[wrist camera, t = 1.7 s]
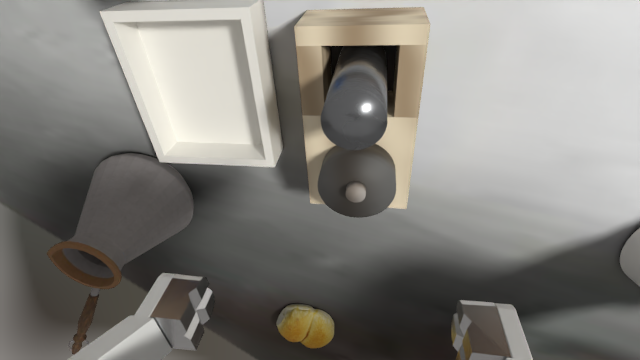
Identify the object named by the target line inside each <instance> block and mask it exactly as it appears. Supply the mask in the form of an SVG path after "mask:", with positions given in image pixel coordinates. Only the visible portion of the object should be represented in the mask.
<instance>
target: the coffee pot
mask: <svg viewBox="0 0 640 360" xmlns="http://www.w3.org/2000/svg"><path fill="white" fill-rule="evenodd" d="M193 210H194V200H193V196H192V192H191V191H190V189H189V187H188V185H187V183H186V182H185V180H184V178H183V177H182V175H181V174H180V173H179V172H178V171H177V170H176V169H175V168H173V167H172V166H171V165H170V164H168V163H165V162H159V159H157V158H154V157H150V156H147V155H143V154H134V153H126V154H119V155H115V156H111V157H109V158H108V159H106V160H104V161H102V162H101V163H100V164H99V165H98V167H97V168H96V169H95V171H94V174H93V178H92V181H91V184H90V187H89V190H88V194H87V197H86V200H85V203H84V207H83V210H82V213H81V216H80V219H79V223H78V226H77V229H76V232H75V236H74V237H72V238H71V239H69V240H68V241H65V242H61V243H58V244H56V245H54V246H53V247H51V249H50V250H49V251H48V252H47V255H48V256H49V258H50V259H51V261H52V262H53V263H54V264H55V266H56V267H57V268H58V269H59V270H60V271H61V272H63V273H64V274H65V275H67V276H68V277H70V278H71V279H73V280H75V281H77V282H79V283H81V284H83V285H86V286H89V287H92V290H91V293H90V294H89V297H88V299H87V301H86V304H85V307H84V309H83V311H82V314H81V316H80V319H79V321H78V331H77V334H75V335H74V337H73V340H72V341H70V342H69V344H70V343H71V342H73V341H75V343H74V344H73V346H72V349H71V348H70V346H69V345H68V348H69V349H70V350H71V351H72V354H74V355H75V354H76V353H77V352H79V350H80V348H81V347H82V342H83V341H84V342H86V343H87V344H88V345H89V342H88V341H86V334H85V333H86V331H87V330H88V328H89V326H90V325H91V323H92V319H93V316H94V312H95V308H96V304H97V300H98V297H99V291H100V289H110V288H114V287H115V286H117V285H118V284H119V283H120V281H121V278H122V276H121V270H122V267H123V265H124V264H126V263H128V262H130V261H131V260H133V259H135V258H136V257H138V256H140V255H141V254H143V253H145V252H146V251H148V250H150V249H151V248H153V247H155V246H156V245H158V244H160V243H161V242H163V241H165V240H166V239H168V238H170V237H172V236H173V235H175V234H177V233H178V232H180V231H181V230H183V229H184V228H185V227H186V226H188V225H189V223H190V221H191V219H192V217H193Z"/></svg>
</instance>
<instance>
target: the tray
mask: <svg viewBox="0 0 640 360" xmlns="http://www.w3.org/2000/svg"><path fill="white" fill-rule="evenodd" d="M99 12H100V14H101V17H102V19H103V22H104V24H105V27H106V29H107V32H108V34H109V37H110V39H111V42H112V44H113V47H114V49H115V52H116V54H117V57H118V59H119V62H120V64H121V67H122V69H123V72H124V74H125V77H126V79H127V82H128V84H129V87H130V89H131V92H132V94H133V97H134V99H135V102H136V104H137V107H138V109H139V112H140V114H141V117H142V119H143V122H144V124H145V127H146V129H147V132H148V134H149V137H150V139H151V142H152V144H153V147H154V149H155V152H156V154H157V157H158V159H159V162H165V163H188V164H211V165H235V166H258V167H275V166H276V164H277V161H278V159H279V157H280V154H281V152H282V150H283V142H282V135H281V127H280V120H279V113H278V105H277V98H276V91H275V83H274V76H273V69H272V61H271V54H270V47H269V40H268V32H267V25H266V18H265V10H264V3H263V0H174V1H143V2H125V3H122V4H119V5H116V6H113V7H110V8H108V9H105V10H102V11H99Z"/></svg>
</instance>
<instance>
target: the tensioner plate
mask: <svg viewBox="0 0 640 360" xmlns="http://www.w3.org/2000/svg"><path fill="white" fill-rule="evenodd" d="M294 30H295V41H296V52H297V63H298V74H299V85H300V95H301V106H302V117H303V128H304V139H305V150H306V160H307V171H308V182H309V193H310V203H314V204H326V205H327V206H328V207H329V208H331V209H332V210H334V211H336V212H337V213H340V214H342V215H345V216H350V217H368V216H372V215H375V214H378V213H380V212H382V211H383V210H385V209H386V208H401V209H407V201H408V193H409V185H410V178H411V170H412V162H413V154H414V147H415V139H416V131H417V123H418V115H419V108H420V100H421V92H422V84H423V77H424V69H425V61H426V53H427V45H428V38H429V30H430V22H429V20H428V17H427V15H426V12H425V9H424V7H414V8H375V9H336V10H307V11H306V12H305V13H304V15H303V16H302V17H301V19H300V20H299V21H298V22H297V24H296V25H295V26H294ZM357 45H397V46H396V59H395V72H394V85H393V91H387V128H386V131H385V133H384V135H383V136H382V138H381V139H380V140H379V141H378V142H377V143H375V144H374V145H372V146H370V147H368V148H365V149H361V150H348V149H344V148H341V147H339V146H337V145H335V144H334V143H332V142H331V141H330V140H329V139H328V138H327V137H326V135H325V134H324V132H323V130H322V126H321V113H322V109H323V106H324V103H325V100H326V97H327V94H328V91H329V87H330V84H331V81H332V70H331V46H357Z"/></svg>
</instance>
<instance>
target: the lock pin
mask: <svg viewBox="0 0 640 360" xmlns="http://www.w3.org/2000/svg"><path fill="white" fill-rule="evenodd" d="M321 126H322V130H323V132H324V134H325V135H326V137H327V138H328V139H329V140H330V141H331V142H332V143H334V144H335V145H337V146H339V147H341V148H344V149H348V150H361V149H365V148H368V147H370V146H372V145H374V144H375V143H377V142H378V141H379V140H380V139H381V138H382V136H383V135H384V133H385V131H386V128H387V55H386V51H385V48H384V47H383V45H357V46H343V48H342V50H341V53H340V56H339V59H338V62H337V65H336V68H335V72H334V75H333V78H332V81H331V84H330V87H329V91H328V94H327V97H326V100H325V103H324V106H323V109H322V113H321Z"/></svg>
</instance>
